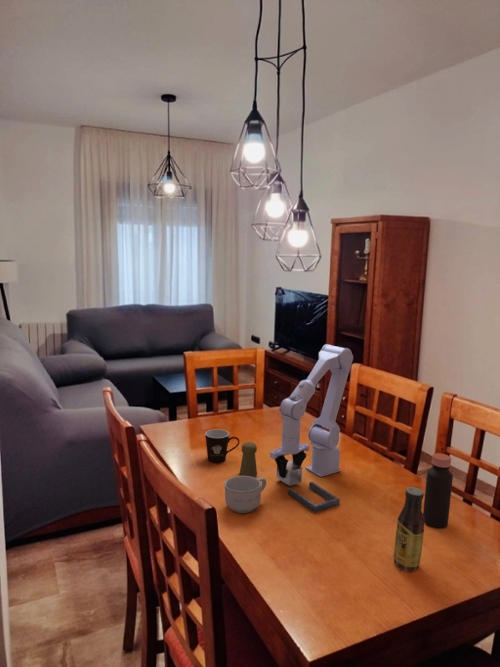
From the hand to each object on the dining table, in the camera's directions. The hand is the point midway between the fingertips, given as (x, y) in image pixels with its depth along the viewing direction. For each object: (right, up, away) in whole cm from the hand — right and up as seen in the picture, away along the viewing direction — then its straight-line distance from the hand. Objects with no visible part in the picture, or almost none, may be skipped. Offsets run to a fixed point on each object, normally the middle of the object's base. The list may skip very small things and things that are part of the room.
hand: (288, 474), depth 159 cm
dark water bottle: (+40, -8, -21) cm, 46 cm away
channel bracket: (+6, -5, -9) cm, 12 cm away
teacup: (-14, -5, -15) cm, 21 cm away
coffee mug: (-23, 0, +16) cm, 28 cm away
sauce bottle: (+25, -11, -41) cm, 49 cm away
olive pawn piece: (-13, -2, +6) cm, 15 cm away
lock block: (0, -2, 0) cm, 2 cm away
